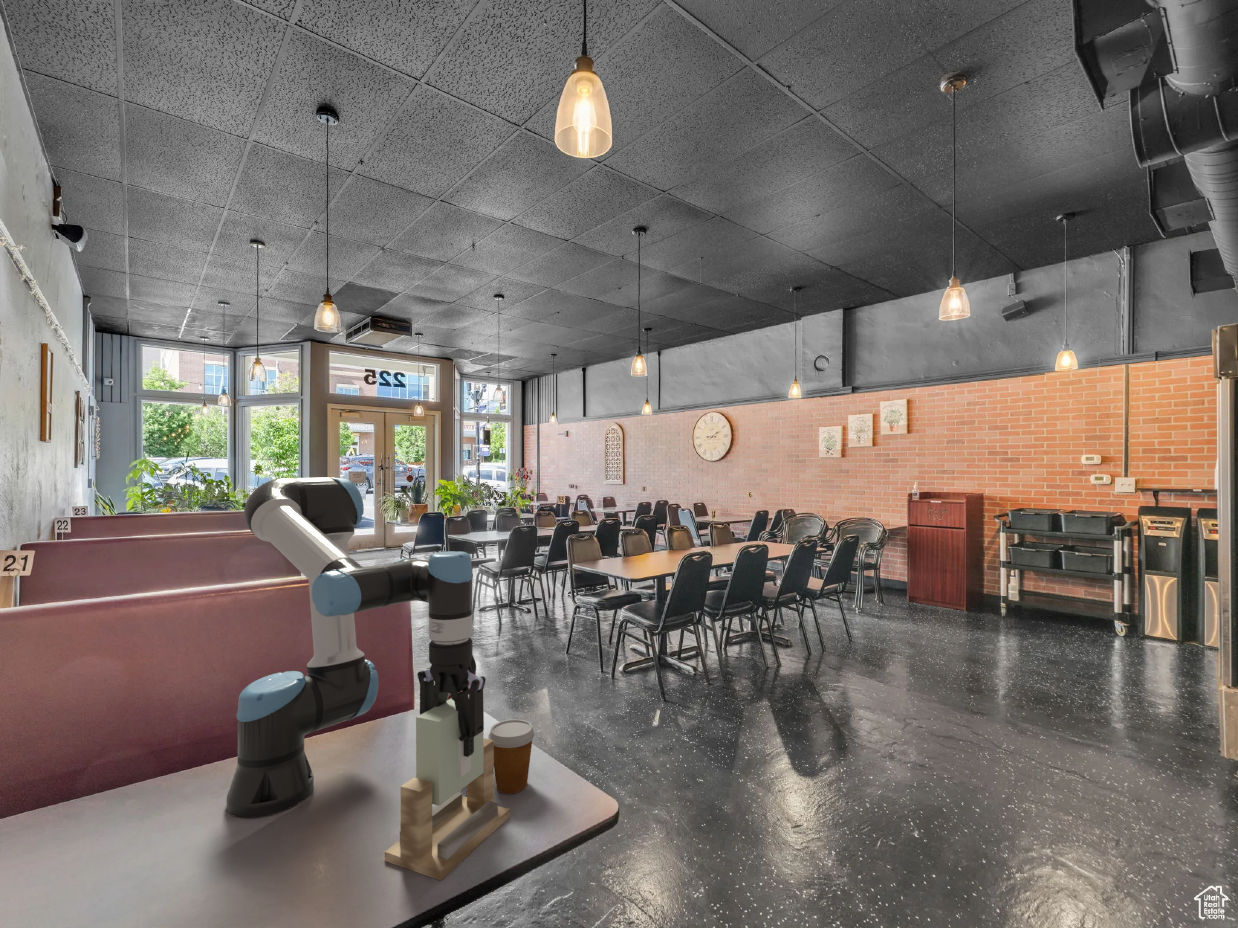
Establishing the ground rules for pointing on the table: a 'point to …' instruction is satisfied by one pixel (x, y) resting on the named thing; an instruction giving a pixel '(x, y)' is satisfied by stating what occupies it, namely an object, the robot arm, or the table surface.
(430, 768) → the door panel
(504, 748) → the disposable coffee cup
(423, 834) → the sill
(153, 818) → the table surface
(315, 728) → the robot arm
